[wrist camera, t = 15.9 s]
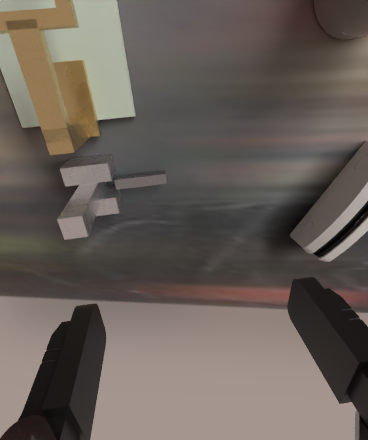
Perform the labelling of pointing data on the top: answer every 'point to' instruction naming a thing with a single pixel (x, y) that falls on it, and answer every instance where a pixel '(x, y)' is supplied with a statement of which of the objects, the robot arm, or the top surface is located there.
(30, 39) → the square loop paddle
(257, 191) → the top surface
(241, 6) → the top surface
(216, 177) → the top surface
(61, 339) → the robot arm
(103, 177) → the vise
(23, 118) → the mat
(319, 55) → the top surface
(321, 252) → the white arched piece
